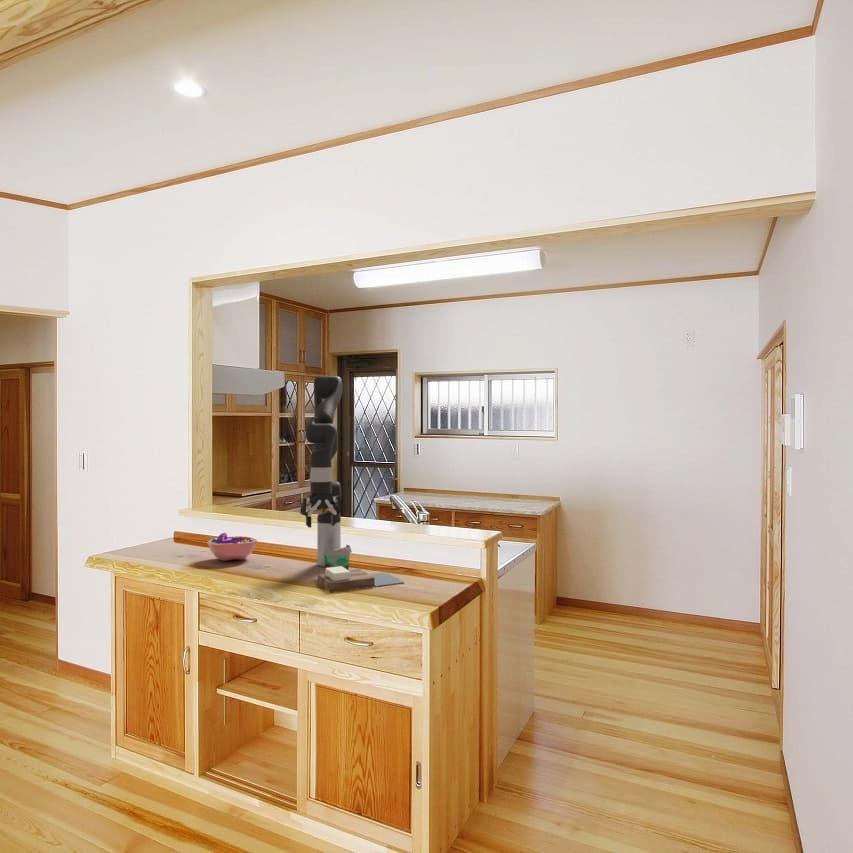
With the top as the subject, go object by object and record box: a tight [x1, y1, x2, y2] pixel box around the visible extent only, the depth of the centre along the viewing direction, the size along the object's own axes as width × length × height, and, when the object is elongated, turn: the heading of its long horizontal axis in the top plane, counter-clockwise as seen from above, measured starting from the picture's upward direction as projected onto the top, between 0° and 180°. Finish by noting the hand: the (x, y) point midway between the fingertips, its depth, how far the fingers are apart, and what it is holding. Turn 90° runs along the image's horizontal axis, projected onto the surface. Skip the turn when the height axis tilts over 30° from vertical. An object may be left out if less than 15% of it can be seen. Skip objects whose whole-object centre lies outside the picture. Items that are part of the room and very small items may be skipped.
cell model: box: [206, 532, 258, 562], centre depth 259 cm, size 17×20×11 cm
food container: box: [323, 544, 352, 572], centre depth 235 cm, size 12×6×10 cm, turn 139°
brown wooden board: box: [317, 568, 375, 593], centre depth 221 cm, size 14×16×3 cm
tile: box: [325, 566, 350, 581], centre depth 220 cm, size 9×6×2 cm, turn 27°
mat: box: [368, 571, 405, 588], centre depth 227 cm, size 16×11×1 cm
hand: (321, 526), depth 220 cm, fingers open, 8 cm apart
